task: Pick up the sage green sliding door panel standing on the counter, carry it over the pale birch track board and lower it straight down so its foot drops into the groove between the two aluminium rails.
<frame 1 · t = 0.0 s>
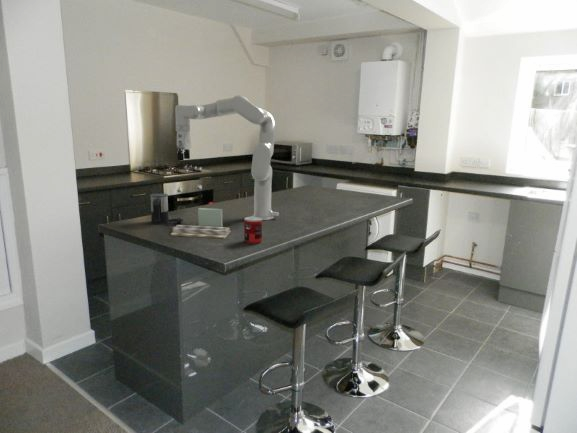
hand: (183, 159, 234), 31 cm above the countertop, tool pointing down, fingers open, 9 cm apart
door track: (201, 233, 201), on the countertop
milk frother: (167, 223, 220), on the countertop
door panel: (210, 226, 216), on the countertop
canned food: (253, 242, 190), on the countertop
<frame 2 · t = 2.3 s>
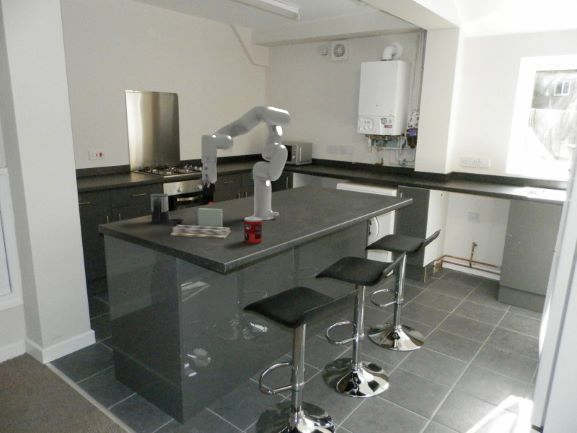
hand: (209, 193, 212), 17 cm above the countertop, tool pointing down, fingers open, 9 cm apart
nothing on the countertop moved.
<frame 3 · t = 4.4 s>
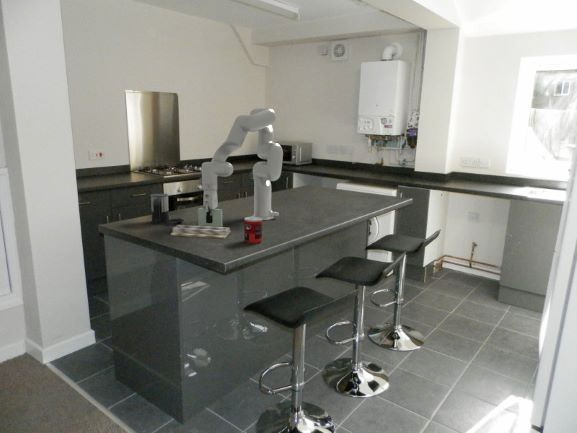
hand: (210, 221, 215), 2 cm above the countertop, tool pointing down, fingers closed on door panel, 3 cm apart
door panel: (210, 226, 216), on the countertop, touching gripper
everything else where it was.
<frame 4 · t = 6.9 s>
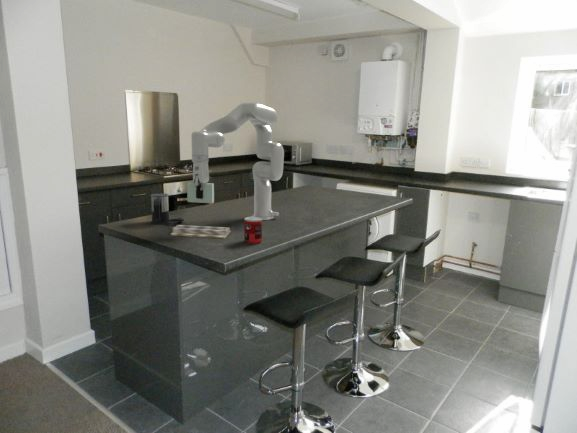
hand: (200, 197, 198), 18 cm above the countertop, tool pointing down, fingers closed on door panel, 3 cm apart
door panel: (200, 202, 198), point 15 cm above the countertop, touching gripper
everything else where it was.
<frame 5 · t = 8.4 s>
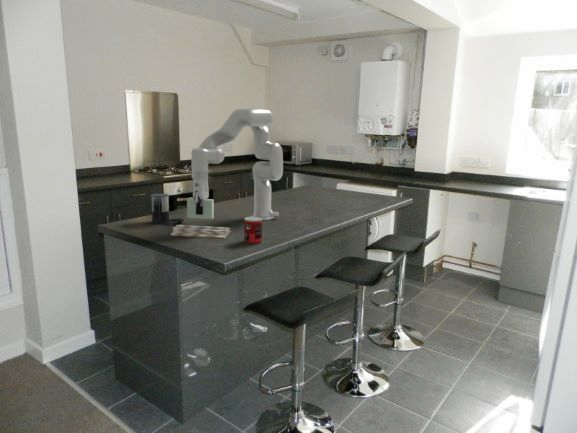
hand: (200, 213, 199), 10 cm above the countertop, tool pointing down, fingers closed on door panel, 3 cm apart
door panel: (200, 217, 199), point 8 cm above the countertop, touching gripper
everything else where it was.
when the fingers open (4 cm above the countertop, at t = 9.7 s): door panel drops 1 cm, resting on door track.
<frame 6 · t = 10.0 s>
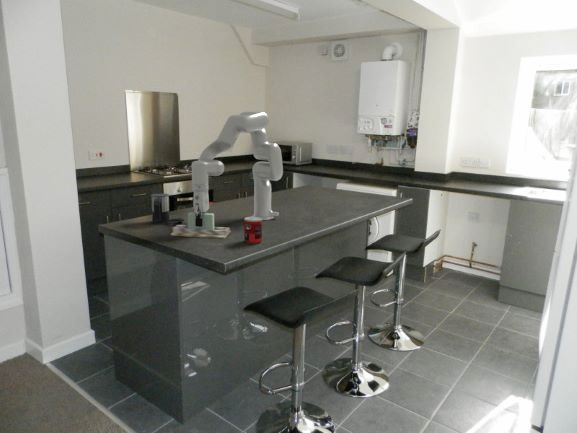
hand: (201, 224, 200), 5 cm above the countertop, tool pointing down, fingers open, 6 cm apart
door panel: (201, 231, 201), point 1 cm above the countertop, touching door track
everything else where it was.
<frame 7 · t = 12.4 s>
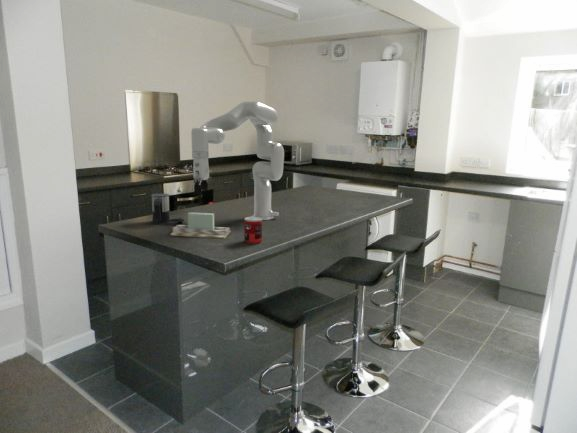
hand: (201, 191, 197), 20 cm above the countertop, tool pointing down, fingers open, 9 cm apart
nothing on the countertop moved.
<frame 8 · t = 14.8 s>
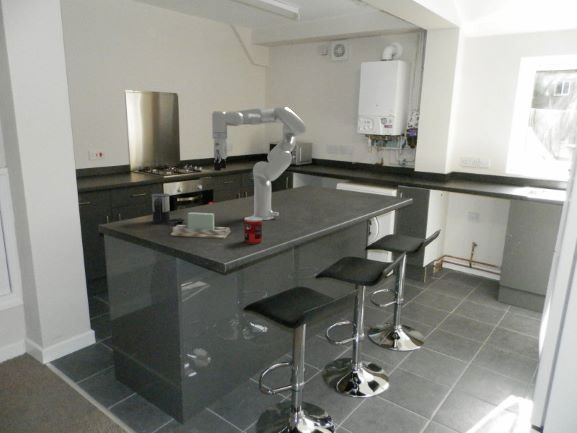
hand: (220, 169, 218), 28 cm above the countertop, tool pointing down, fingers open, 9 cm apart
nothing on the countertop moved.
at the end: door panel inside the target area on the door track (0.2 cm from its centre), point 0.8 cm above the door track's base; door panel tilted 0°; the gripper is holding nothing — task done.
